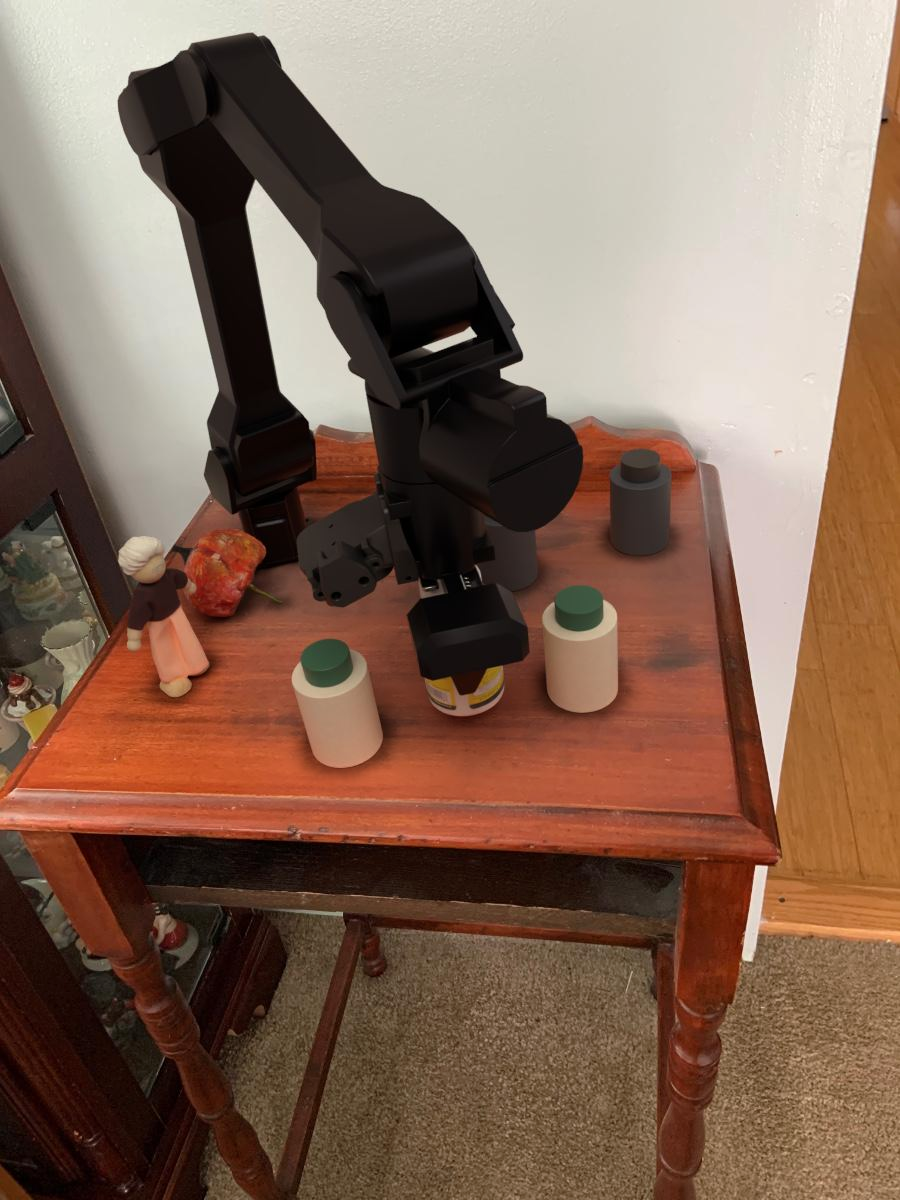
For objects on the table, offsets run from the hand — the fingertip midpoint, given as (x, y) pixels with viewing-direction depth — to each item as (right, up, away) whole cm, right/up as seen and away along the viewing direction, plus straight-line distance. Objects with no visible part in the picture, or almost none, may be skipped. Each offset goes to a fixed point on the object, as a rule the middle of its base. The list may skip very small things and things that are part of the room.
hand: (458, 664), depth 61 cm
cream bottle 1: (-8, -6, +2) cm, 10 cm away
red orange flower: (-19, +4, +17) cm, 26 cm away
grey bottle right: (+16, +10, +18) cm, 26 cm away
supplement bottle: (+1, -2, +2) cm, 3 cm away
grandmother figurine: (-21, -2, +10) cm, 23 cm away
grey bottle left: (+4, +7, +16) cm, 18 cm away
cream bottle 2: (+9, -2, +3) cm, 10 cm away
